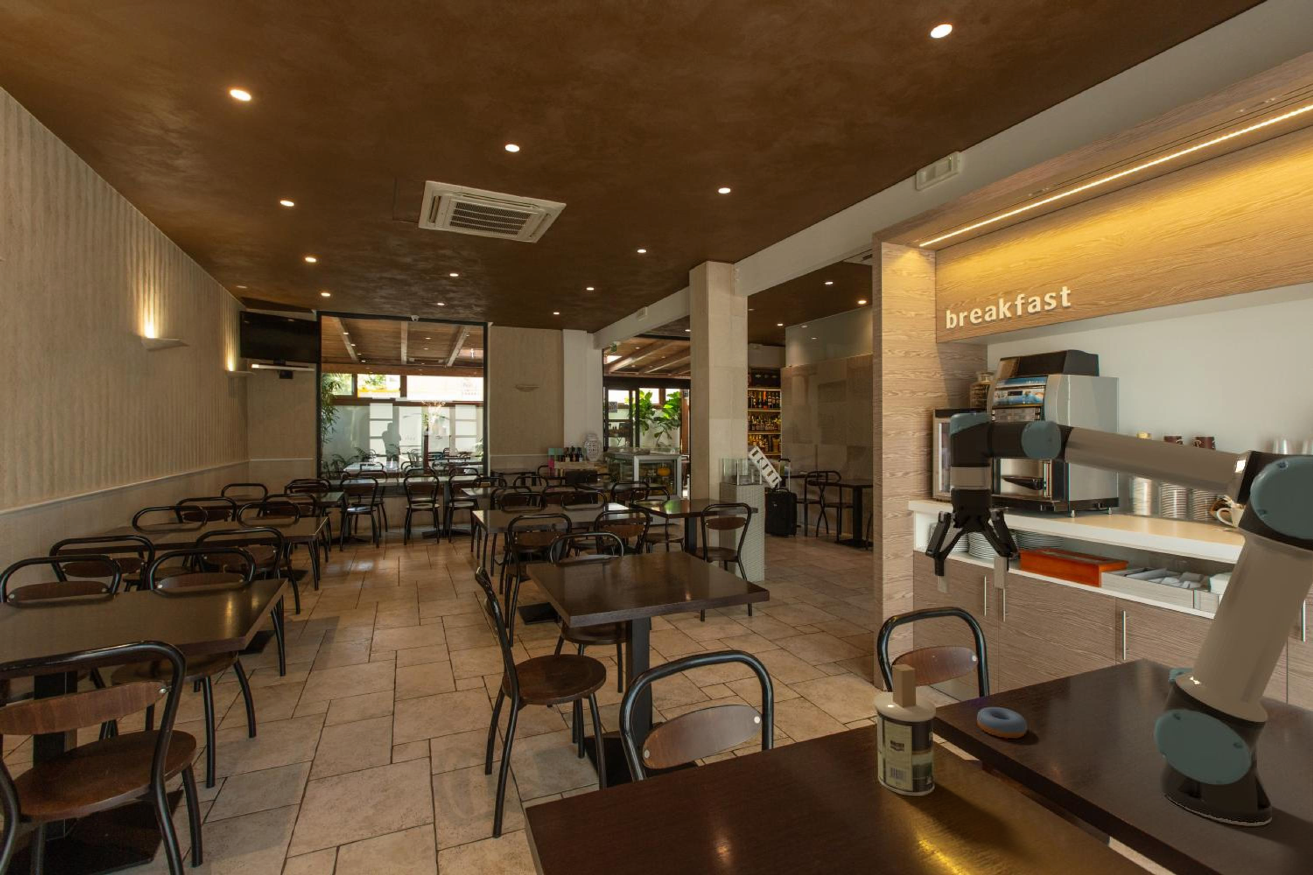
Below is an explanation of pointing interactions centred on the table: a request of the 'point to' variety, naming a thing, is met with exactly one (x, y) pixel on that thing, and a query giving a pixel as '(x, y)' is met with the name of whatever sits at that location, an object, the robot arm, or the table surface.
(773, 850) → the table surface
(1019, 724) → the doughnut
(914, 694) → the lid
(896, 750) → the coffee can
